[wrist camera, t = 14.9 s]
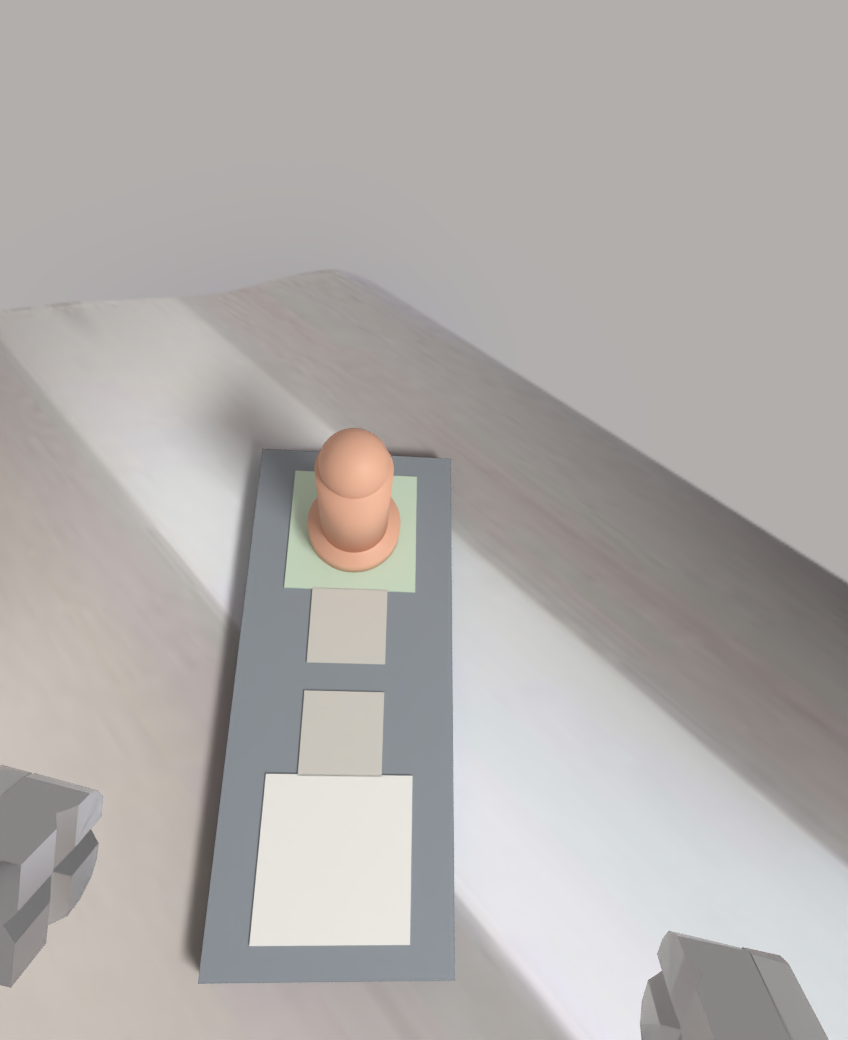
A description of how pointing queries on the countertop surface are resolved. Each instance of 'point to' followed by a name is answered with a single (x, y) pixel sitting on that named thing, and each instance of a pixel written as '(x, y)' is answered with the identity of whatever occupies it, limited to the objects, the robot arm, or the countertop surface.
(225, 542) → the countertop surface
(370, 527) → the pawn
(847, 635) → the countertop surface
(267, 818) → the board
